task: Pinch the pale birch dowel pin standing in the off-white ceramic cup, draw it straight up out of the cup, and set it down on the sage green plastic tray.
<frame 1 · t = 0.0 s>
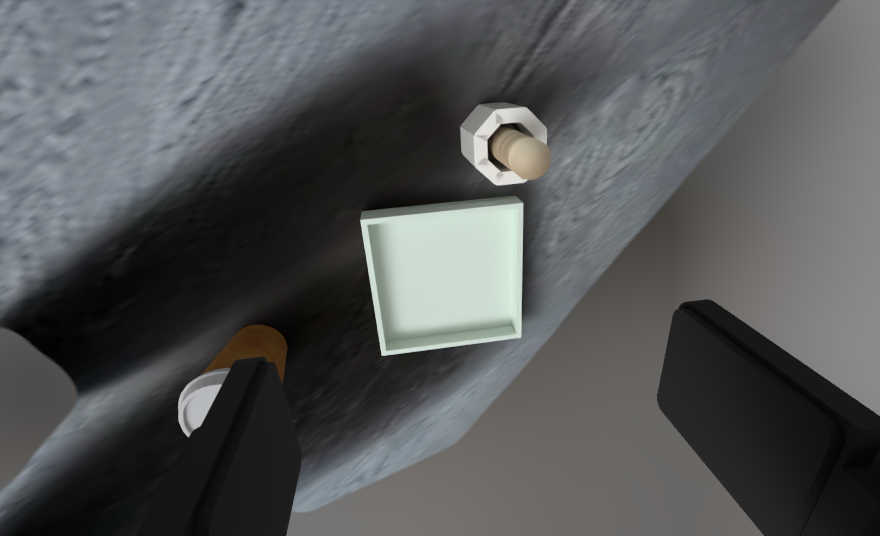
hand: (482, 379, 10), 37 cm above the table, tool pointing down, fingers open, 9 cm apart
wooden pin: (494, 138, 43), point 1 cm above the table, touching cup holder
cup holder: (492, 136, 44), on the table
disposable coffee cup: (260, 345, 51), on the table
tray: (444, 272, 50), on the table
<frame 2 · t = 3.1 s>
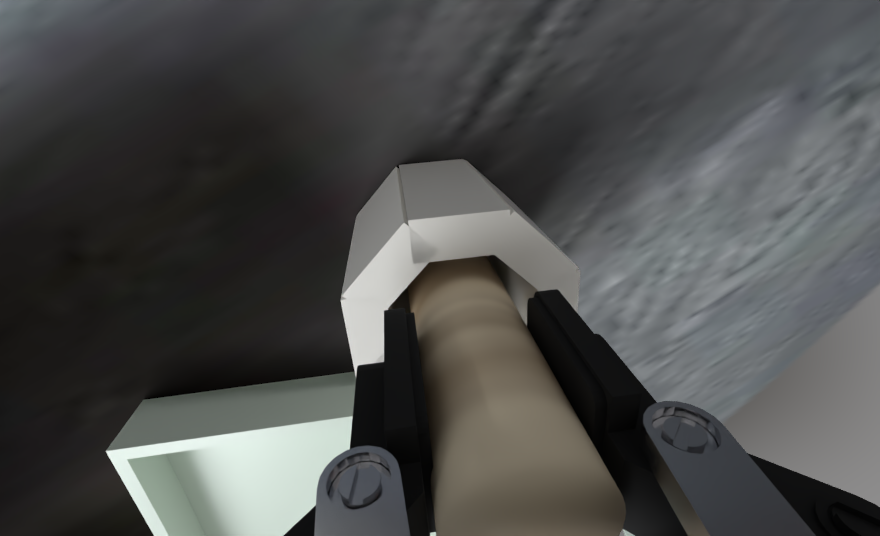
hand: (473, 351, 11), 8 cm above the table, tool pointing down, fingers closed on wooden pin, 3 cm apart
wooden pin: (439, 247, 17), point 1 cm above the table, touching cup holder, gripper
cup holder: (437, 238, 18), on the table
tray: (352, 492, 24), on the table
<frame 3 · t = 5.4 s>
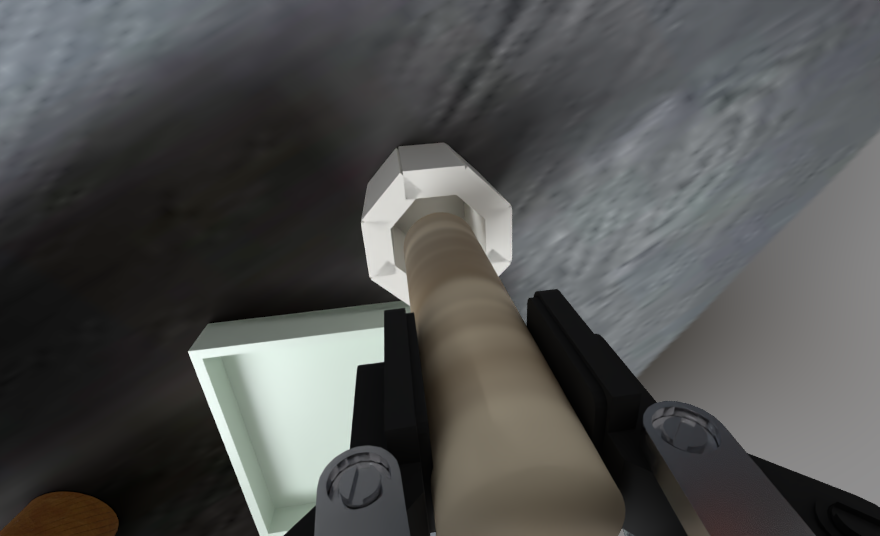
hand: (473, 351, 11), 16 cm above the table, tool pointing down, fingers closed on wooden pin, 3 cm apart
wooden pin: (439, 247, 17), point 8 cm above the table, touching gripper
cup holder: (426, 201, 25), on the table
disposable coffee cup: (75, 516, 32), on the table
tray: (362, 407, 31), on the table
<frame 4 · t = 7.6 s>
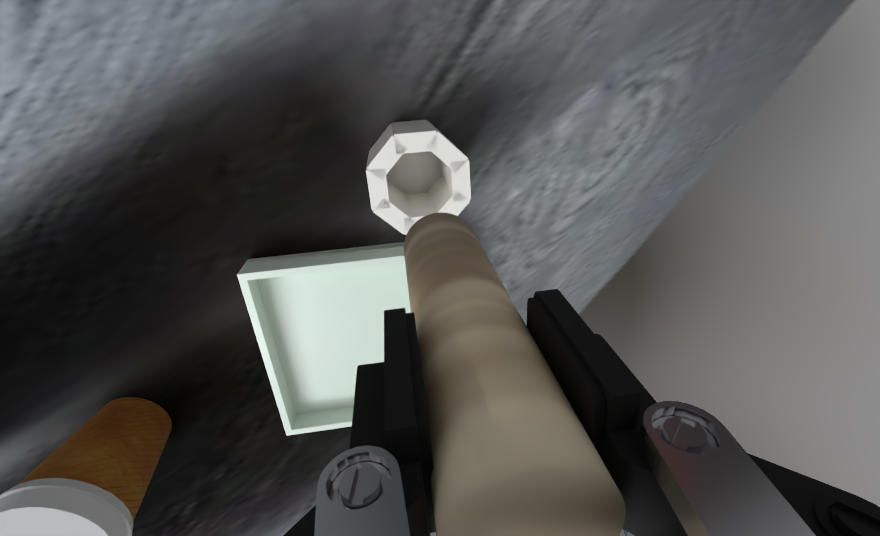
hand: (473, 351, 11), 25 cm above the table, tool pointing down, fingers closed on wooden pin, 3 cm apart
wooden pin: (440, 247, 17), point 18 cm above the table, touching gripper
cup holder: (413, 164, 34), on the table
disposable coffee cup: (137, 420, 41), on the table
tray: (365, 331, 39), on the table
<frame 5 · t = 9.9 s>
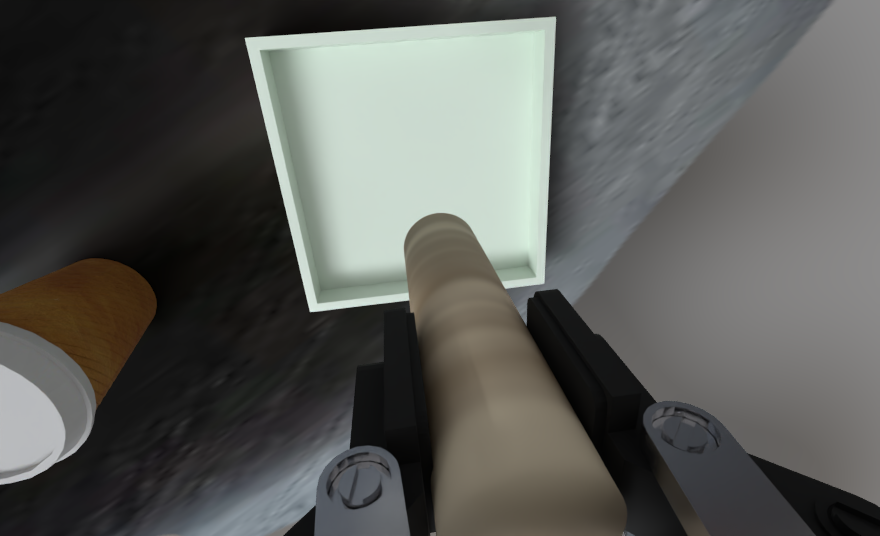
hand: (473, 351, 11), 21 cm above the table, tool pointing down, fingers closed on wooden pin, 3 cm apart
wooden pin: (440, 247, 17), point 13 cm above the table, touching gripper
disposable coffee cup: (111, 296, 31), on the table
tray: (415, 170, 29), on the table
when the fingers open (10 cm above the table, at t = 12.0 s): wooden pin drops 1 cm, resting on tray.
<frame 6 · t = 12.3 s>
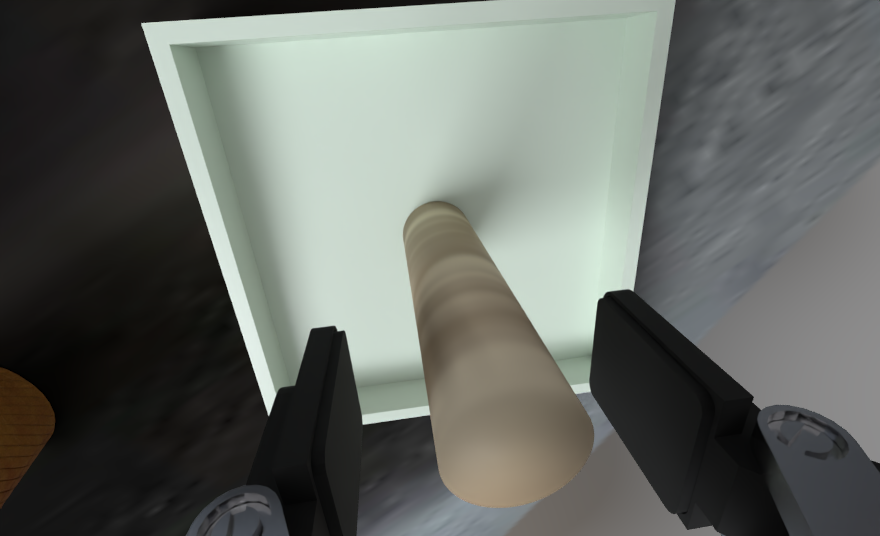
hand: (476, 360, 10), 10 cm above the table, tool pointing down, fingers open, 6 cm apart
wooden pin: (436, 234, 19), point 1 cm above the table, touching tray
tray: (433, 227, 20), on the table
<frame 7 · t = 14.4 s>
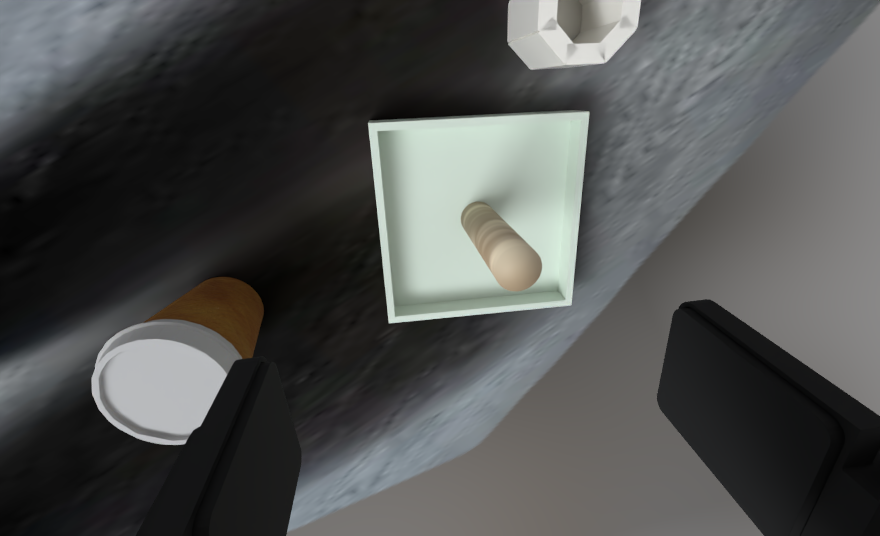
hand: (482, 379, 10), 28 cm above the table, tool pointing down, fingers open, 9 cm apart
wooden pin: (477, 218, 37), point 1 cm above the table, touching tray
cup holder: (549, 21, 32), on the table
disposable coffee cup: (228, 306, 39), on the table
tray: (474, 215, 38), on the table
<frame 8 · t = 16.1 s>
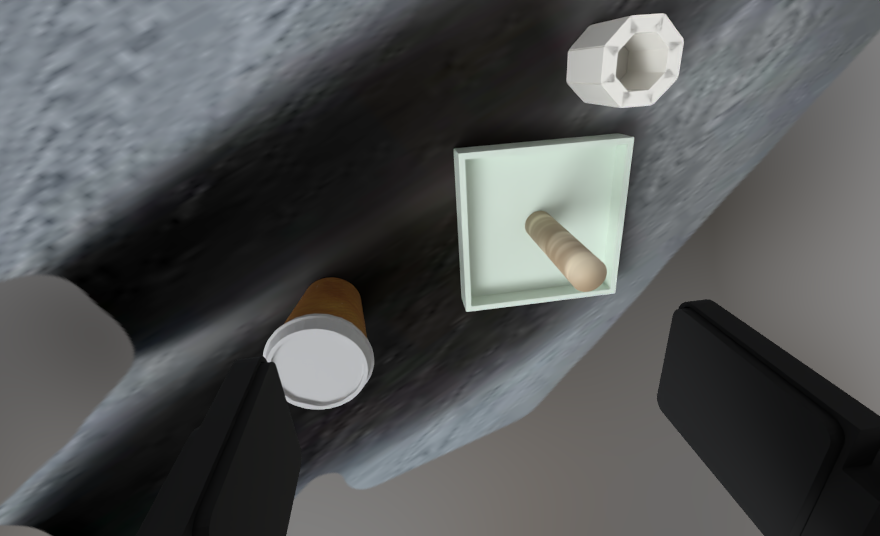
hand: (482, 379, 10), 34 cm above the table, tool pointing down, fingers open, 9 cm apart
wooden pin: (538, 224, 45), point 1 cm above the table, touching tray
cup holder: (600, 64, 40), on the table
disposable coffee cup: (333, 301, 47), on the table
tray: (535, 221, 46), on the table
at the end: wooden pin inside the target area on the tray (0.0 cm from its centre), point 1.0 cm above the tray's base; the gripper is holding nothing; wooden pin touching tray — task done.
